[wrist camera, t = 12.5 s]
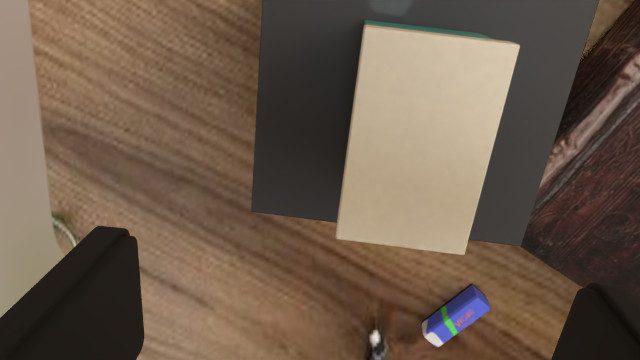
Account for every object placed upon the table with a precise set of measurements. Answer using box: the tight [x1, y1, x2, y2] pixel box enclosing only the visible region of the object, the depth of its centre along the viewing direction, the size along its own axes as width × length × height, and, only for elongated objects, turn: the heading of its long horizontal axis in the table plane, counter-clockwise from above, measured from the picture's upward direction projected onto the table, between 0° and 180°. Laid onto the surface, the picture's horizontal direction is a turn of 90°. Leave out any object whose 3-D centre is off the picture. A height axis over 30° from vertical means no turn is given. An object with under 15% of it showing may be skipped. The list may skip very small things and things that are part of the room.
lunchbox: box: [336, 20, 520, 255], centre depth 19 cm, size 8×5×5 cm, turn 174°
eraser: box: [422, 285, 491, 347], centre depth 40 cm, size 2×6×2 cm, turn 138°
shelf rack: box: [251, 0, 599, 246], centre depth 27 cm, size 14×12×13 cm
